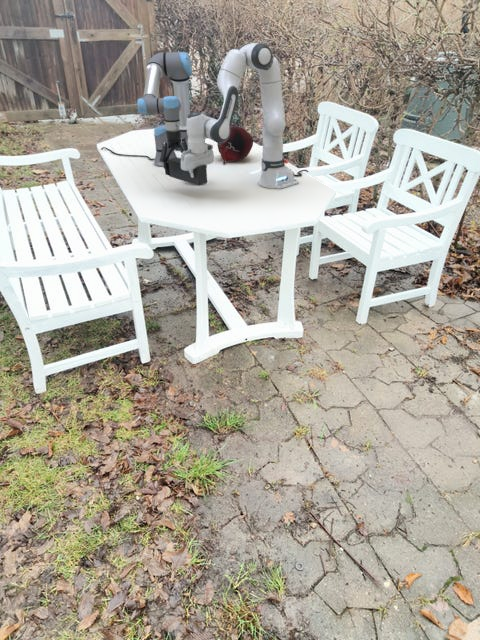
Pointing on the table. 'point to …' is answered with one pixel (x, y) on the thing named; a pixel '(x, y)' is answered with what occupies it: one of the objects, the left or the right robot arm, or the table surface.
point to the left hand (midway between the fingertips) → (176, 172)
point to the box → (187, 172)
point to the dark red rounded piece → (236, 145)
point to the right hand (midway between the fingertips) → (198, 175)
